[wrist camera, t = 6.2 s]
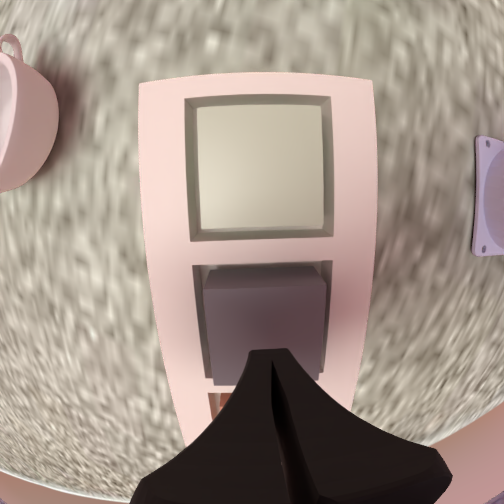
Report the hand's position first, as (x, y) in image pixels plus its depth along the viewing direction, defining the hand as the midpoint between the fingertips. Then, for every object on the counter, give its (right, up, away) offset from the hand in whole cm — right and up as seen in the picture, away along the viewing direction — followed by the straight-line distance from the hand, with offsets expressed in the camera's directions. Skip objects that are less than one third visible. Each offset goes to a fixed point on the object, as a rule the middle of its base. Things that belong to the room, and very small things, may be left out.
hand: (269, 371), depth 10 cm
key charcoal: (0, +1, +5) cm, 5 cm away
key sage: (0, +8, +4) cm, 9 cm away
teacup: (-14, +13, +3) cm, 20 cm away
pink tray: (0, +2, +6) cm, 6 cm away
